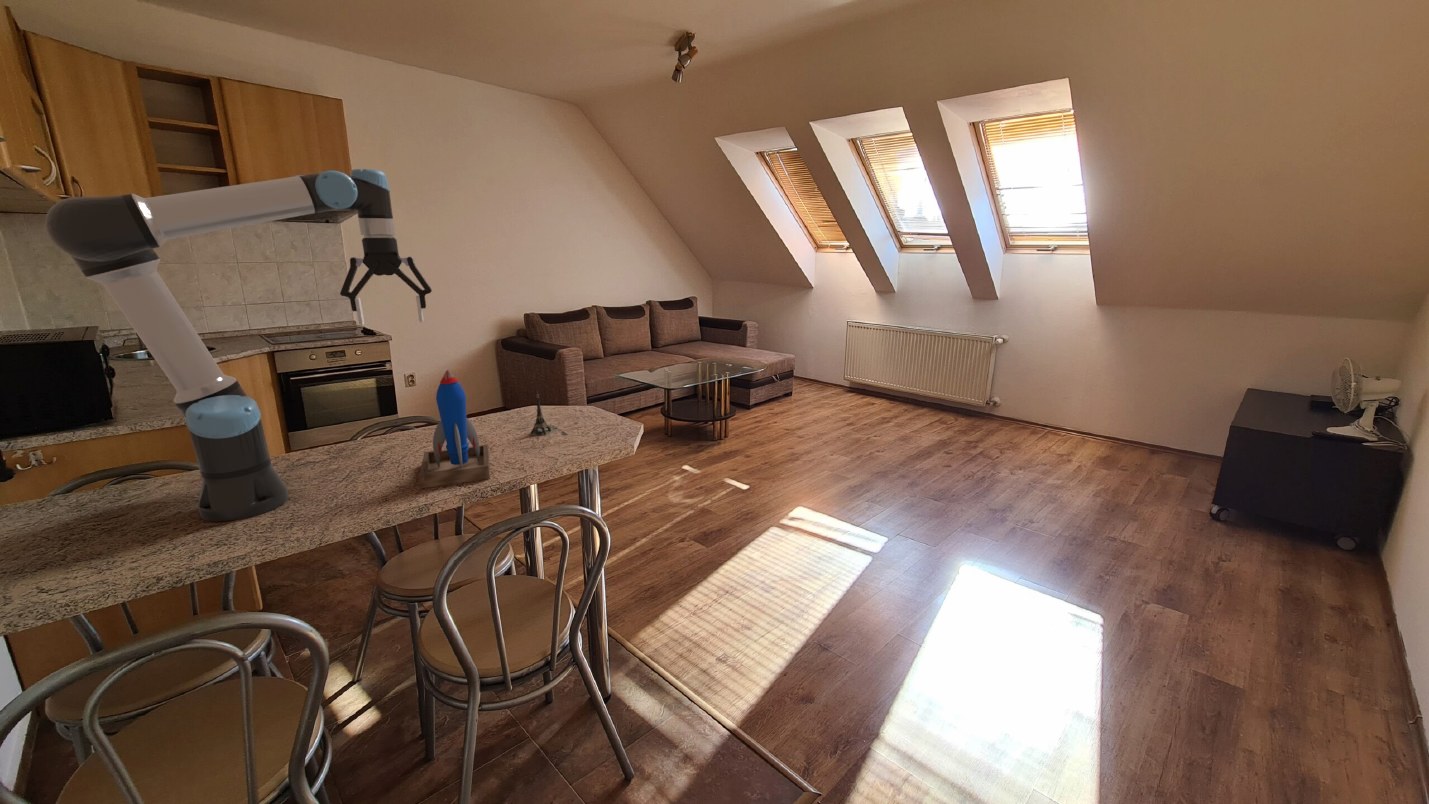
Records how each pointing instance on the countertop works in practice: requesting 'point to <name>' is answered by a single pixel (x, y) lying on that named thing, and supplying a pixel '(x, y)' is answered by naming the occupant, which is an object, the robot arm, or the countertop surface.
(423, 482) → the cradle
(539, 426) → the eiffel tower figurine
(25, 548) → the countertop surface
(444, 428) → the toy rocket
